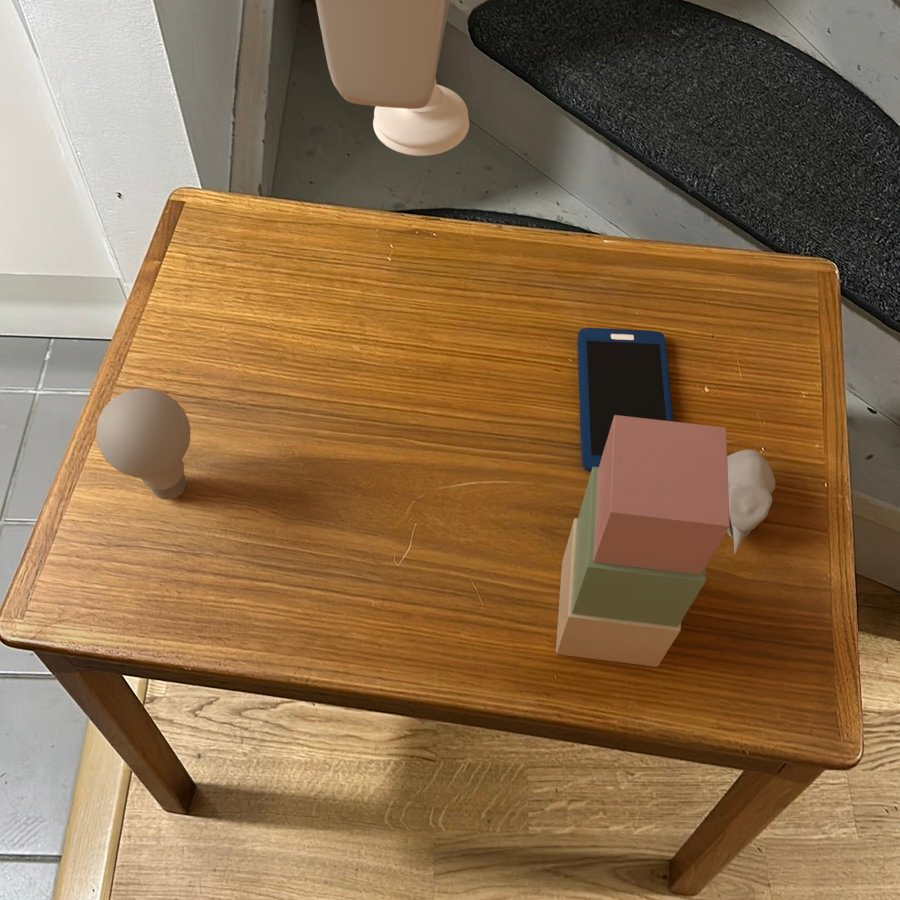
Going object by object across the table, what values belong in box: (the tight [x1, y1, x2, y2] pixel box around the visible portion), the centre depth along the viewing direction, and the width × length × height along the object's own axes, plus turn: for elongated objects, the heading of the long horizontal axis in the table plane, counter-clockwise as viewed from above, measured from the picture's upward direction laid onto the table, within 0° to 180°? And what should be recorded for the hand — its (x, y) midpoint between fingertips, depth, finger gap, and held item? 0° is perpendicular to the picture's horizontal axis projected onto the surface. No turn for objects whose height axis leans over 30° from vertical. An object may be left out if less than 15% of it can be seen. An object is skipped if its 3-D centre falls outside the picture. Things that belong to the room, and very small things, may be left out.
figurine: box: [726, 448, 776, 555], centre depth 67 cm, size 4×8×5 cm, turn 165°
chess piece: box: [372, 78, 470, 157], centre depth 43 cm, size 5×5×10 cm
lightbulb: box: [95, 387, 191, 501], centre depth 65 cm, size 6×6×11 cm
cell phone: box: [576, 327, 675, 473], centre depth 74 cm, size 7×14×1 cm, turn 177°
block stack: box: [555, 415, 730, 668], centre depth 57 cm, size 7×7×20 cm
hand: (419, 62), depth 44 cm, fingers closed on chess piece
